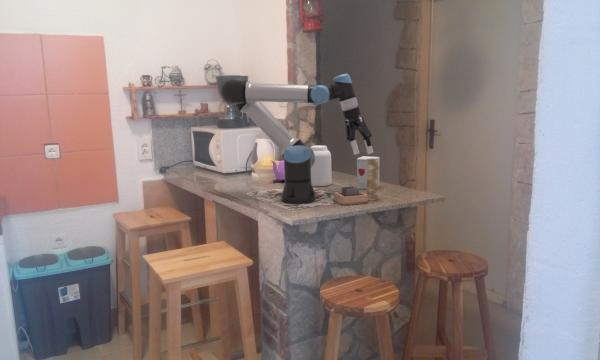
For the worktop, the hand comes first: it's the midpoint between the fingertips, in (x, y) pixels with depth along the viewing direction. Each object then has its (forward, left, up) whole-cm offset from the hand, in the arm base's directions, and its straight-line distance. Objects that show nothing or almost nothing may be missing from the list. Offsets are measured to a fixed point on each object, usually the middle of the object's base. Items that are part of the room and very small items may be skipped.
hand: (363, 153), depth 219 cm
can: (-11, +31, -19) cm, 38 cm away
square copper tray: (-12, -13, -19) cm, 26 cm away
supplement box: (+8, +13, -19) cm, 24 cm away
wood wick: (-2, -13, -19) cm, 23 cm away
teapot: (-24, +48, -19) cm, 57 cm away
